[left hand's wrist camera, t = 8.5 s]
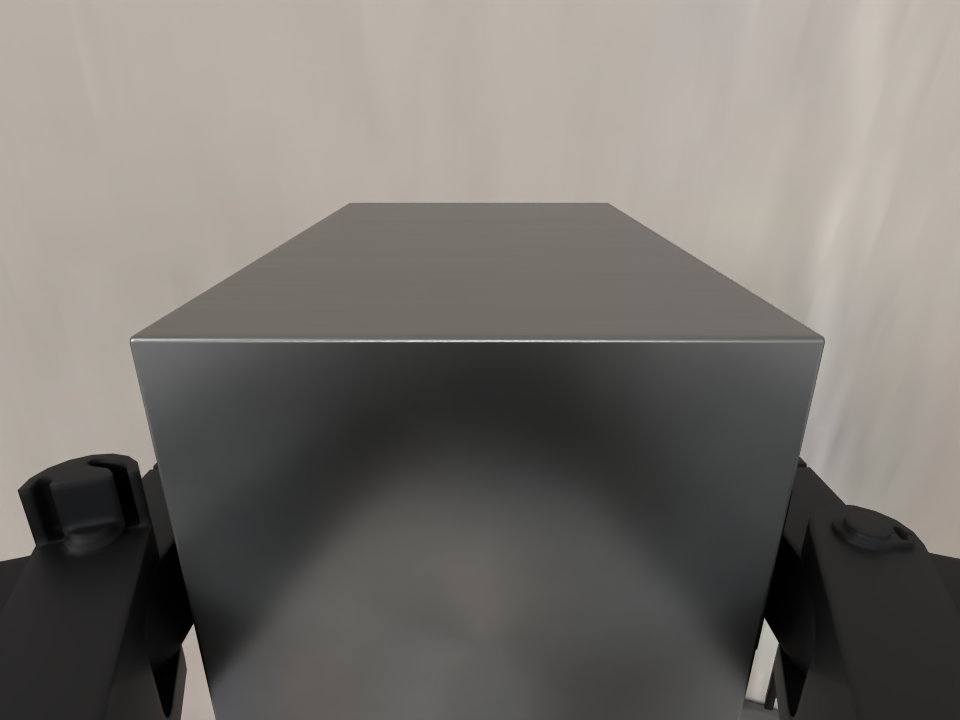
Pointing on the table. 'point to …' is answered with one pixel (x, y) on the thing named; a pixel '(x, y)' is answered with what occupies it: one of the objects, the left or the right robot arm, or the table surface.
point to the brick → (477, 468)
